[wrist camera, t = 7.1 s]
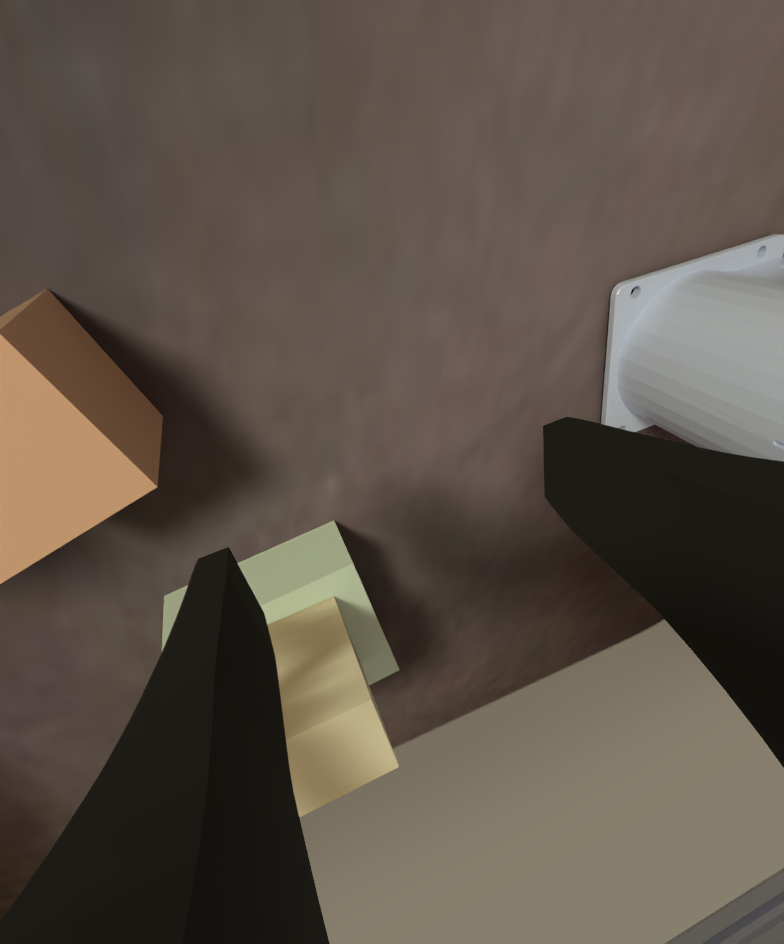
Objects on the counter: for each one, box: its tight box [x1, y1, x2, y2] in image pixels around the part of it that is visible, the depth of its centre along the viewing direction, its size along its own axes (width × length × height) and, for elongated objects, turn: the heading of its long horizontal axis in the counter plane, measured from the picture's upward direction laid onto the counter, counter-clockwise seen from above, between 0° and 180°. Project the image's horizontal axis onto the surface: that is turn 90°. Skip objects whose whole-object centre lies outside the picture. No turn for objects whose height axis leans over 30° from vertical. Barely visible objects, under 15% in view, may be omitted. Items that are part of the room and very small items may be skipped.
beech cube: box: [267, 597, 399, 817], centre depth 20 cm, size 5×5×5 cm
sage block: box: [162, 521, 399, 685], centre depth 23 cm, size 8×8×4 cm
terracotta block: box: [0, 289, 163, 584], centre depth 14 cm, size 5×5×5 cm
